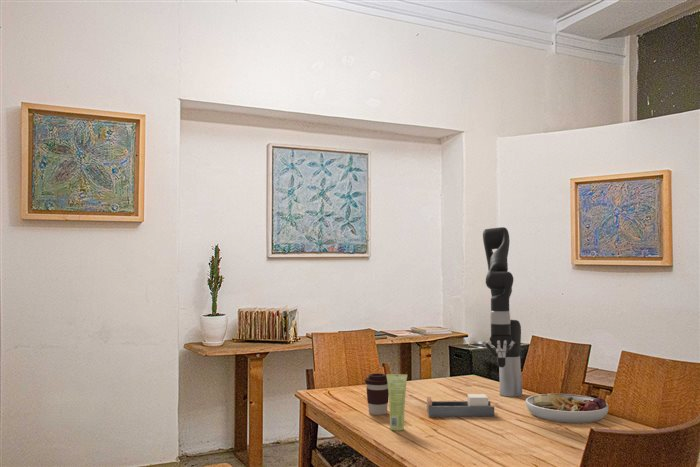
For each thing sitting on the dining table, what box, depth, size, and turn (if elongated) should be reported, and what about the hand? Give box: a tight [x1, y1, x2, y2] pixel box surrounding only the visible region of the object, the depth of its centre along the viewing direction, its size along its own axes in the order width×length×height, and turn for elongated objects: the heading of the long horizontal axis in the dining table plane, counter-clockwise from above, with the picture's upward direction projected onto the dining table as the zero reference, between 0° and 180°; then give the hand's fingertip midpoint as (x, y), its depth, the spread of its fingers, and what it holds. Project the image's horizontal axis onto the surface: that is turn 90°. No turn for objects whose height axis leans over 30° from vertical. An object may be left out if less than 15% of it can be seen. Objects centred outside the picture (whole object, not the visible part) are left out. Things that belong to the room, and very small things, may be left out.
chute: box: [426, 396, 496, 418], centre depth 233 cm, size 25×9×6 cm, turn 87°
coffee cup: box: [364, 372, 389, 416], centre depth 237 cm, size 10×10×15 cm
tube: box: [385, 373, 408, 432], centre depth 214 cm, size 6×5×20 cm
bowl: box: [525, 392, 609, 424], centre depth 231 cm, size 30×30×8 cm
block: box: [467, 393, 489, 406], centre depth 233 cm, size 7×6×6 cm
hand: (501, 367), depth 233 cm, fingers closed
